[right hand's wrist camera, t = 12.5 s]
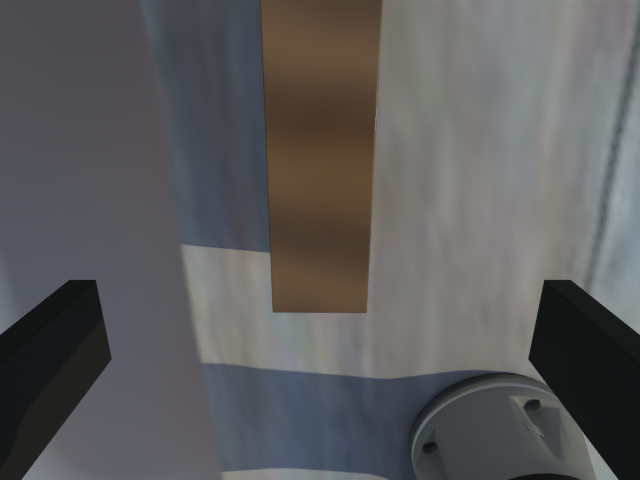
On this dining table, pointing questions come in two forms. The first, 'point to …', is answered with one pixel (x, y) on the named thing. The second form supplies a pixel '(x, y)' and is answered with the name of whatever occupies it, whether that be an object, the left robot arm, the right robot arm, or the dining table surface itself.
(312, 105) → the post
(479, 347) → the dining table surface
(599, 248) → the dining table surface
